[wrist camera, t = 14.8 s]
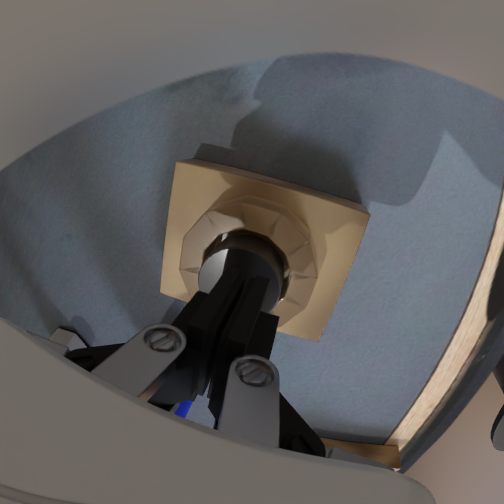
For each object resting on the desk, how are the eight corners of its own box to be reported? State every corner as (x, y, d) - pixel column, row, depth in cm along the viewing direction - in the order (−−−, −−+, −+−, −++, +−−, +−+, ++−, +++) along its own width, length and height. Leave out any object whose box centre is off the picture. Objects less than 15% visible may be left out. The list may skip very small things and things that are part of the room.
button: (294, 246, 13) (291, 262, 11) (273, 311, 14) (268, 332, 13) (217, 224, 13) (204, 236, 12) (205, 290, 15) (192, 308, 13)
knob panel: (398, 445, 22) (401, 469, 19) (354, 481, 26) (354, 501, 23) (302, 433, 23) (299, 460, 20) (273, 470, 27) (268, 491, 24)
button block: (363, 204, 15) (379, 225, 11) (318, 321, 18) (317, 363, 15) (192, 157, 16) (158, 164, 12) (174, 277, 19) (145, 307, 16)
